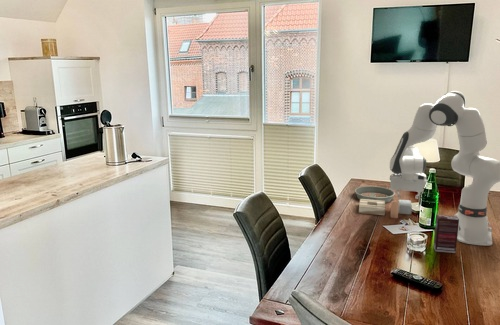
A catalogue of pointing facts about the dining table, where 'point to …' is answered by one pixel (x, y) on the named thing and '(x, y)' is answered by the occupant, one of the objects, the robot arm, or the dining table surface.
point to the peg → (394, 209)
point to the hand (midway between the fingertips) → (407, 197)
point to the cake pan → (374, 190)
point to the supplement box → (446, 233)
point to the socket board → (372, 207)
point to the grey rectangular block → (405, 207)
